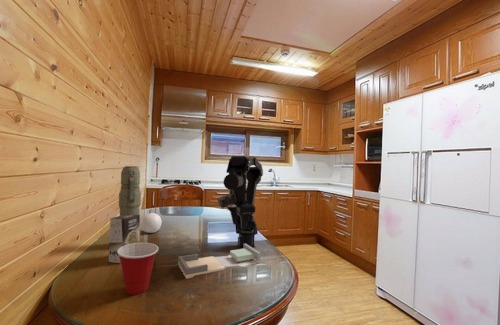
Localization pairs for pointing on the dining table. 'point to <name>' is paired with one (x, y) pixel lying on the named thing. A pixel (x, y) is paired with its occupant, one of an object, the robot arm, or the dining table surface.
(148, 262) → the plastic cup
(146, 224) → the ornament
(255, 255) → the green block on base
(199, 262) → the dock
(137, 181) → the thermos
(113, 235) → the coffee box
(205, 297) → the dining table surface
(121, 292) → the dining table surface
